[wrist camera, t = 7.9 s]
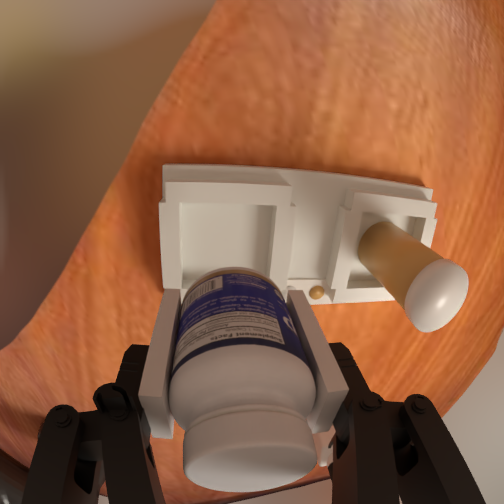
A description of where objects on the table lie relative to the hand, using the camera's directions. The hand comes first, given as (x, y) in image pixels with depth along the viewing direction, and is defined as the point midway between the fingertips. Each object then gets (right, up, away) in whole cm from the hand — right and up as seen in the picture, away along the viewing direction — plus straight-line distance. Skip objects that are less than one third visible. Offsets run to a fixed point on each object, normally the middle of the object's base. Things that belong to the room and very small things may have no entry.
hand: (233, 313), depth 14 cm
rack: (+6, +4, +11) cm, 13 cm away
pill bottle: (0, 0, 0) cm, 0 cm away
